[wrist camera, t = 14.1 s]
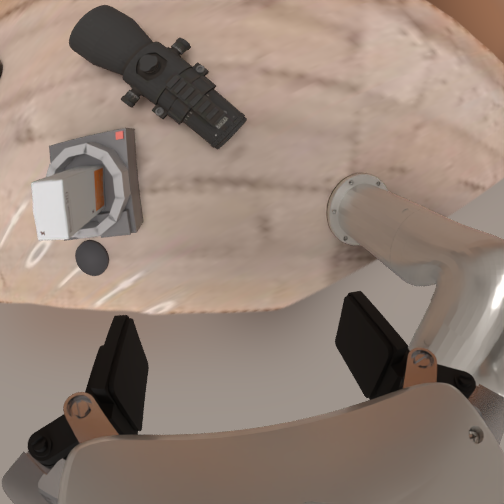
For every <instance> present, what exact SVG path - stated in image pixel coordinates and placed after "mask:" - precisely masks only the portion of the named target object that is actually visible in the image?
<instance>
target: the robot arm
mask: <svg viewBox="0 0 504 504" xmlns="http://www.w3.org/2000/svg"><path fill="white" fill-rule="evenodd" d="M349 181H350V182H349ZM332 210H333V211H332ZM327 219H328V223H329V226H330V229H331V231H332V232H333V234H334V235H335V236H336V237H337V238H338V239H339V240H341V241H342V242H343V243H346V244H348V245H354V246H356V245H361V246H363V247H364V248H365V249H366V250H368V251H369V252H370V253H371V254H372V255H374V256H375V257H376V258H377V259H378V260H380V261H381V262H382V263H383V264H384V265H386V266H387V267H388V268H389V269H390V270H392V271H393V272H394V273H395V274H396V275H398V276H399V277H400V278H401V279H402V280H404V281H405V282H407V283H409V284H411V285H414V286H429V285H434V284H436V289H435V292H434V294H433V296H432V299H431V303H430V305H429V307H428V309H427V311H426V313H425V315H424V317H423V319H422V321H421V323H420V325H419V327H418V329H417V330H416V332H415V334H414V336H413V338H412V340H411V342H410V344H409V347H408V345H407V344H406V343H405V341H404V340H403V339H402V338H401V337H400V335H399V334H398V333H397V332H396V331H395V330H394V328H393V327H392V326H391V325H390V324H389V322H388V321H387V320H386V319H385V318H384V317H383V315H382V314H381V313H380V312H379V311H378V310H377V309H376V307H375V306H374V305H373V304H372V303H371V302H370V301H369V299H368V298H367V297H366V296H365V295H364V294H363V293H362V292H361V291H357V292H351V293H348V295H347V296H346V297H345V298H344V303H343V308H342V312H341V317H340V322H339V326H338V331H337V335H336V339H335V343H336V347H337V349H338V350H339V352H340V354H341V355H342V357H343V359H344V361H345V362H346V364H347V366H348V367H349V369H350V371H351V373H352V374H353V376H354V378H355V380H356V381H357V383H358V385H359V386H360V389H361V390H362V392H363V394H364V396H365V397H366V398H369V399H370V400H368V401H366V402H362V403H359V404H356V405H353V406H350V407H347V408H343V409H340V410H336V411H333V412H329V413H325V414H321V415H317V416H313V417H309V418H305V419H301V420H296V421H292V422H287V423H281V424H275V425H270V426H264V427H257V428H250V429H243V430H235V431H225V432H215V433H201V434H176V435H138V431H141V430H142V421H143V410H144V401H145V392H146V384H147V376H148V361H147V359H146V356H145V353H144V350H143V347H142V345H141V342H140V339H139V336H138V333H137V330H136V327H135V324H134V321H133V319H131V318H129V317H128V316H127V315H122V316H121V315H120V316H114V319H113V321H112V324H111V327H110V329H109V332H108V335H107V338H106V341H105V344H104V345H103V346H100V348H99V350H98V353H97V356H96V359H95V362H94V365H93V368H92V371H91V375H90V378H89V381H88V385H87V388H86V391H85V392H78V393H75V394H72V395H71V396H69V397H68V398H67V400H66V401H65V403H64V407H63V411H64V415H62V416H61V417H59V418H57V419H56V420H54V421H53V422H51V423H49V424H48V425H46V426H45V427H43V428H41V429H40V430H38V431H37V432H35V433H34V434H32V435H31V437H30V439H29V441H28V450H29V451H28V452H27V453H25V452H23V453H22V454H21V455H20V457H19V458H18V459H17V460H16V461H15V463H14V464H13V465H12V466H11V467H10V469H9V470H8V471H7V472H6V474H5V475H4V476H3V479H2V487H3V490H4V492H5V493H6V495H7V496H8V497H9V498H10V500H11V501H12V502H13V503H14V504H504V453H503V451H502V449H501V447H500V445H499V444H500V441H501V438H502V435H503V432H504V239H501V238H499V237H497V236H494V235H492V234H489V233H486V232H483V231H480V230H476V229H473V228H470V227H468V226H465V225H462V224H460V223H458V222H455V221H453V220H451V219H448V218H446V217H444V216H442V215H440V214H438V213H436V212H434V211H431V210H429V209H427V208H425V207H423V206H421V205H418V204H416V203H414V202H412V201H410V200H407V199H405V198H403V197H400V196H398V195H396V194H393V193H391V192H388V189H387V188H386V186H385V184H384V183H383V182H382V181H381V180H380V179H378V178H377V177H375V176H373V175H370V174H366V173H358V174H353V175H351V176H349V177H347V178H345V179H344V180H342V181H341V182H340V183H339V184H338V185H337V187H336V188H335V190H334V191H333V193H332V195H331V197H330V200H329V203H328V209H327Z"/></svg>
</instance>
